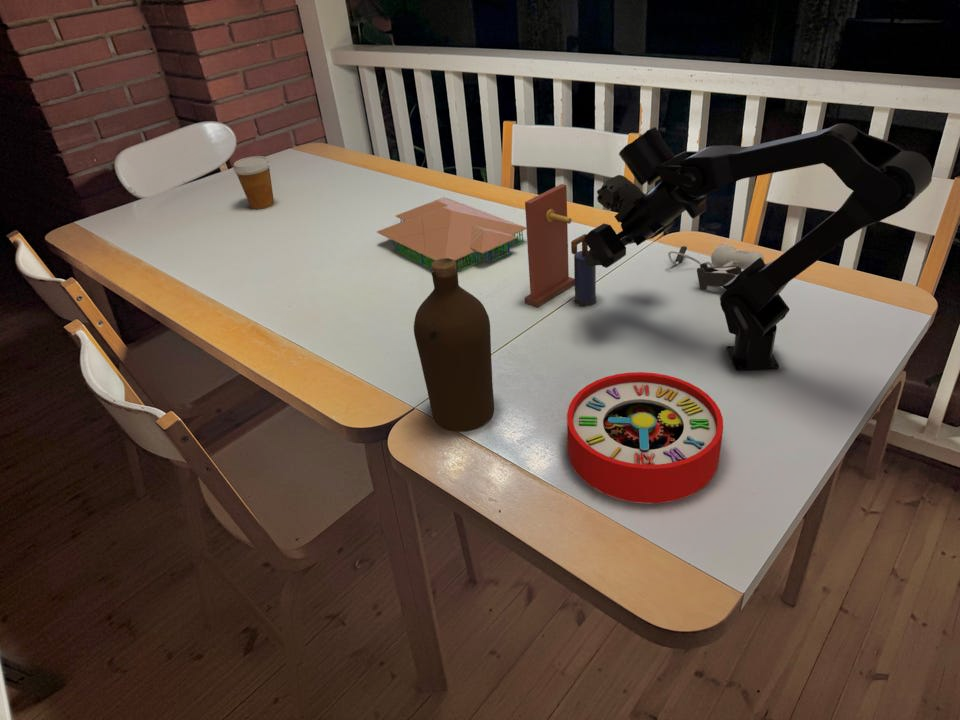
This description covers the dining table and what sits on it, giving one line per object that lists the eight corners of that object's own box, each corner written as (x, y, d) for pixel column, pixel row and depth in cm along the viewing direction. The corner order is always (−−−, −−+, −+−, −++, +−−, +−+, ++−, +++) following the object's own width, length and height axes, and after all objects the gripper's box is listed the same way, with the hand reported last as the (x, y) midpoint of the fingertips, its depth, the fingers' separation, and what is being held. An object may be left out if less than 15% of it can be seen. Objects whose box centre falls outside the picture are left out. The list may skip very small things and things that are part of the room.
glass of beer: (237, 211, 186) (224, 167, 180) (257, 197, 194) (245, 155, 187) (268, 212, 183) (256, 167, 177) (286, 198, 191) (275, 155, 184)
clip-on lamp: (656, 284, 138) (733, 296, 123) (650, 255, 135) (728, 264, 121) (694, 259, 143) (773, 268, 128) (689, 230, 140) (769, 236, 125)
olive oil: (502, 430, 100) (487, 276, 87) (429, 440, 100) (403, 286, 86) (494, 387, 109) (479, 241, 95) (427, 396, 109) (402, 251, 95)
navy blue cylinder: (583, 293, 132) (582, 227, 124) (600, 299, 129) (600, 232, 122) (565, 305, 128) (563, 238, 121) (582, 311, 126) (581, 244, 119)
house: (454, 283, 140) (449, 246, 135) (368, 239, 162) (361, 206, 158) (537, 245, 151) (535, 209, 147) (446, 209, 173) (442, 177, 169)
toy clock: (714, 373, 97) (733, 472, 81) (710, 406, 101) (728, 507, 84) (570, 370, 101) (562, 465, 85) (571, 402, 104) (563, 499, 88)
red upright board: (590, 289, 133) (589, 188, 122) (552, 313, 126) (548, 209, 115) (562, 279, 137) (559, 181, 126) (524, 302, 131) (518, 201, 120)
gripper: (663, 147, 114) (606, 198, 127) (594, 183, 103) (540, 234, 116) (702, 203, 113) (642, 248, 126) (637, 244, 103) (578, 289, 116)
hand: (601, 253), depth 121 cm, fingers open, 9 cm apart
